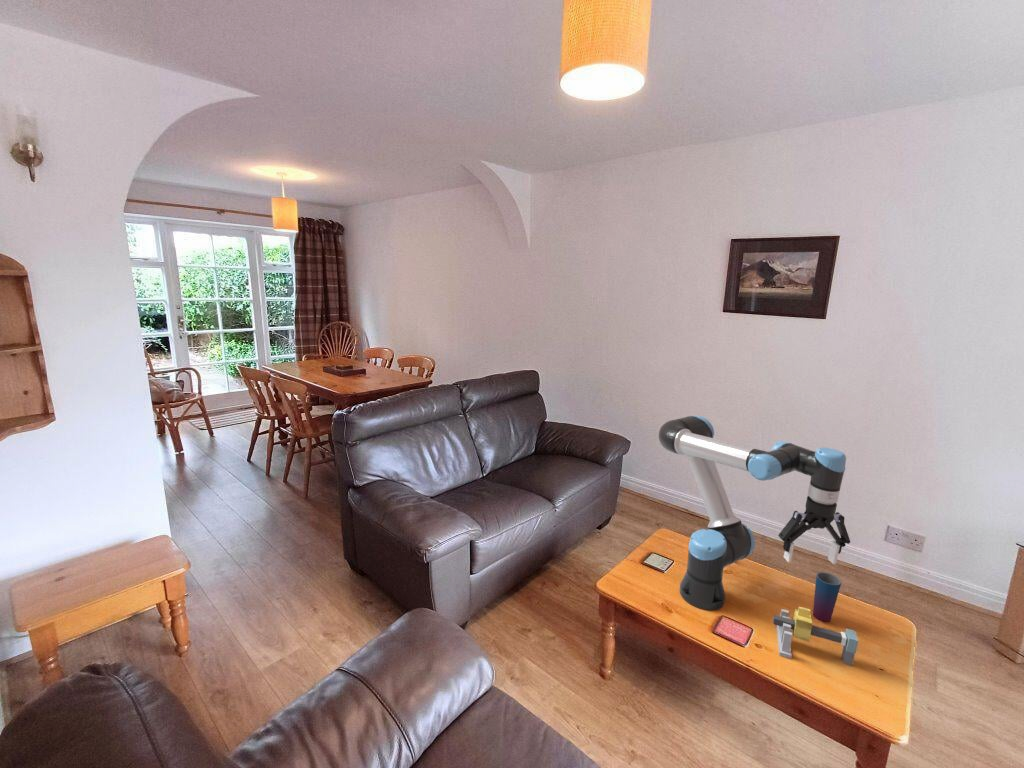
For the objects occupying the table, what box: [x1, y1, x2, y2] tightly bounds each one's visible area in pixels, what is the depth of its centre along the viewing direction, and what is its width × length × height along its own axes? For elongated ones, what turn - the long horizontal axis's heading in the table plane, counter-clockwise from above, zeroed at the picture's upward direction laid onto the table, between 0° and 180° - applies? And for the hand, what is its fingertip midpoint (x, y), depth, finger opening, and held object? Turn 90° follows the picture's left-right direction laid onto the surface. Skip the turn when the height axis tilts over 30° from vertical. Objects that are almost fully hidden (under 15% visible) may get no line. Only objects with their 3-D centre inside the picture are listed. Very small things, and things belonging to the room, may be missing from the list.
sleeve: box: [792, 606, 813, 643], centre depth 139 cm, size 4×5×9 cm
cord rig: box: [772, 608, 859, 666], centre depth 139 cm, size 21×13×9 cm, turn 64°
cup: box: [812, 571, 842, 624], centre depth 152 cm, size 7×7×15 cm
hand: (809, 560), depth 142 cm, fingers open, 13 cm apart
